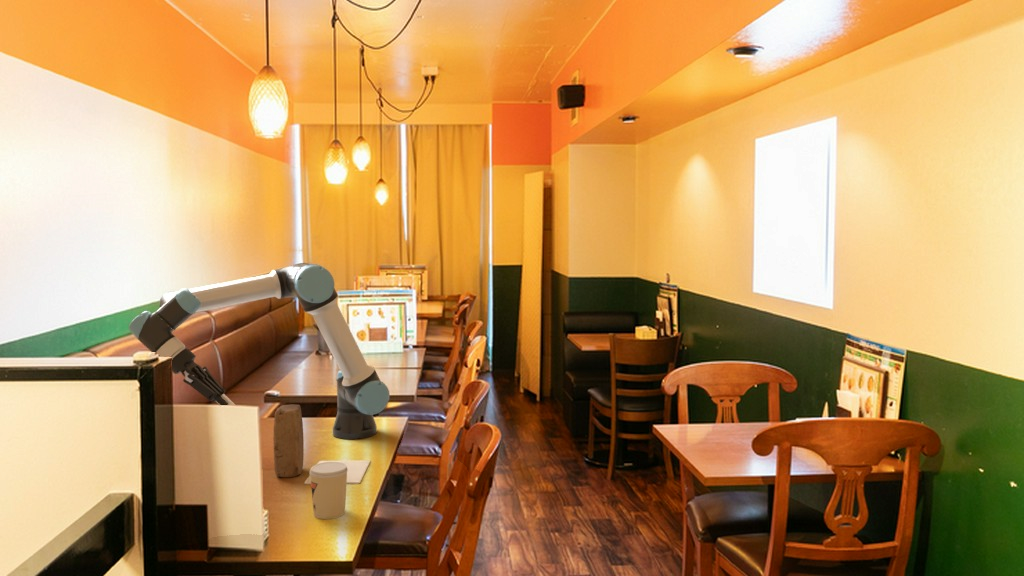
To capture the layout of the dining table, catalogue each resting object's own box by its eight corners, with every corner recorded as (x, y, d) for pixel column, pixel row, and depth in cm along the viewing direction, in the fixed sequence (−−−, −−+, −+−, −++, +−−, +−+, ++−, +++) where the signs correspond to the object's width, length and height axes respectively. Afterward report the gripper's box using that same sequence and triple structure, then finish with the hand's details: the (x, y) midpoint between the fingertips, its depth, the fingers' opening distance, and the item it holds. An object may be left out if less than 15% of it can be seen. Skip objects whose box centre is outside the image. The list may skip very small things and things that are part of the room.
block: (298, 478, 219) (297, 410, 218) (272, 479, 219) (270, 410, 217) (306, 466, 230) (305, 401, 228) (281, 467, 230) (279, 402, 228)
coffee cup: (313, 507, 198) (313, 461, 197) (350, 506, 198) (349, 461, 197) (307, 521, 188) (306, 473, 187) (345, 519, 189) (344, 472, 188)
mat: (319, 462, 235) (319, 460, 235) (370, 461, 235) (370, 460, 235) (304, 484, 215) (304, 482, 215) (359, 483, 215) (359, 482, 215)
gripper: (176, 361, 227) (234, 416, 229) (157, 369, 214) (219, 427, 216) (194, 343, 226) (251, 398, 228) (176, 351, 213) (237, 409, 215)
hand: (236, 412), depth 222 cm, fingers closed
